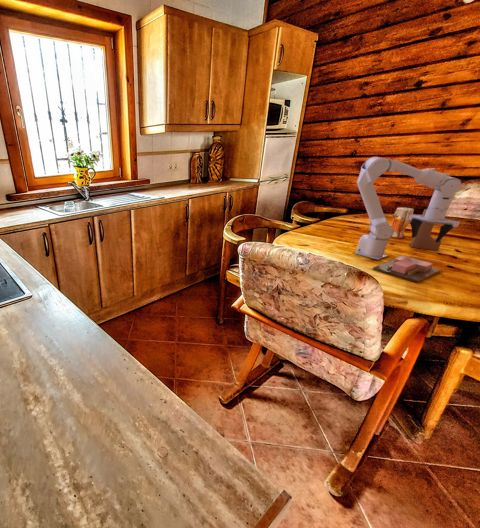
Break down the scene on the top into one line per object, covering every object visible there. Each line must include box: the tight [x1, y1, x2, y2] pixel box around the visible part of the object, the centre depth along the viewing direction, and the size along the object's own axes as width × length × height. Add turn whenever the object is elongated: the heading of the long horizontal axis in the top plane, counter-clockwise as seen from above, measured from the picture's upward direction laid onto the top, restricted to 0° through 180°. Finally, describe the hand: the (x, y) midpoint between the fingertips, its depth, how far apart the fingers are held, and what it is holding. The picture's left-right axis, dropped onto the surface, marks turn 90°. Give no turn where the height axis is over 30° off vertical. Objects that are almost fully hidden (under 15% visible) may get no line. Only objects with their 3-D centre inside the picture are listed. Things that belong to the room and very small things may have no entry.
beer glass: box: [390, 206, 415, 239], centre depth 146 cm, size 7×7×15 cm
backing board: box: [373, 255, 441, 284], centre depth 112 cm, size 14×18×4 cm
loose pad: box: [391, 260, 417, 274], centre depth 111 cm, size 4×7×3 cm, turn 112°
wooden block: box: [410, 208, 442, 252], centre depth 129 cm, size 9×4×18 cm, turn 49°
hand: (425, 239), depth 118 cm, fingers open, 7 cm apart
